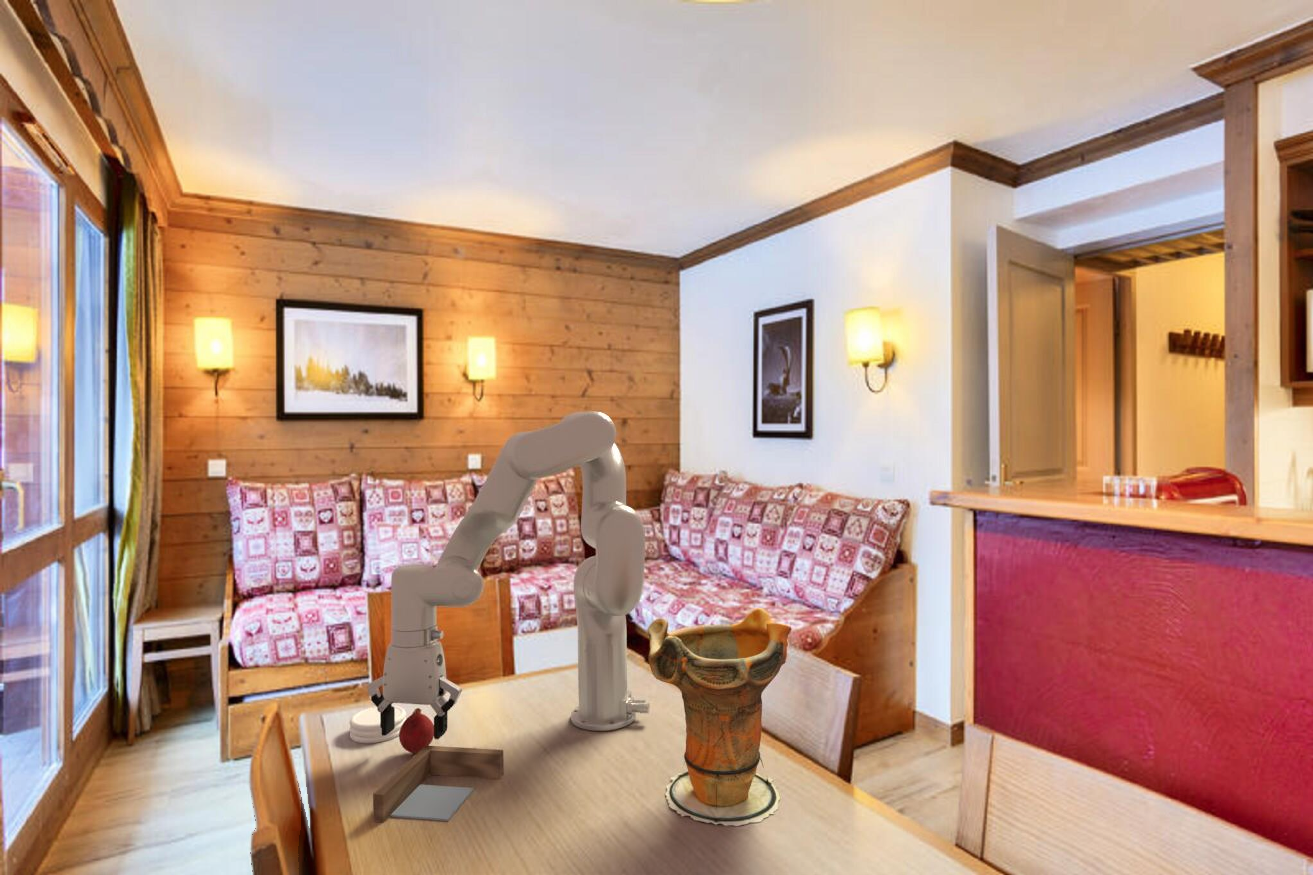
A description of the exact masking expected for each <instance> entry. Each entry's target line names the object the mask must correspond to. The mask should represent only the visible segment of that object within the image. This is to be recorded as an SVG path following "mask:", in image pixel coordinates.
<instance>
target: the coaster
mask: <svg viewBox="0 0 1313 875" xmlns="http://www.w3.org/2000/svg"><path fill="white" fill-rule="evenodd" d="M393 706H394V708H395V728H394V729H393V730H392V731H391V732H390V733H388V734H387V735H385V736H383V735H382V728H381V727H380V712H378V710H377V706H373V707H369V708H365V709H363V710H360V711H358V712H356V713H355V714H354V715H353V716H351V718H350V720H349V732H350V733H349V737H350V739H351V740H352V741H354V742H356V743H360V744H375V743H381V742H386V741H390V740H392V739H395V738H397V737H399V732H400V729H401V726H402V725H403V723H404V721H405V720H406V719H407V717H406V716H407V712H406V710H405V709H404V708H403V707H401V706H396V705H393Z"/></svg>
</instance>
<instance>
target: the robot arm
mask: <svg viewBox="0 0 1313 875" xmlns="http://www.w3.org/2000/svg"><path fill="white" fill-rule="evenodd" d="M616 438H617V429H616V426H615V423H614V422H613V420H612V419H611V418H610V416H608V415H607V414H605V413H603V412H601V411H597V410H596V411H594V410H589V411H576V412H573V413H570V414H567V415H565V416H564V417H563V418H561V420H560V421H559V422H558V423H556V424H553V425H550V426H547V427H546V426H545V427H543V428H539V429H536V430H532V431H531V430H530V431H529V430H528V431H520V432H519V431H518V432H517V433H516V432H515V434H512V435H511V436H510V437H509V438H508V440H507V441H506V442H505V443H504V445H503V447H502V448H501V450H500V453H499V454H498V456H497V458H496V460H495V462H494V464H493V466H492V467H491V469H490V471H489V473H488V474H487V477H486V479H485V481H484V483H483V485H482V486H481V488H480V490H479V491H478V494H477V495H476V497H475V499H474V501H473V502H472V504H471V505H470V507H469V508H468V509H467V512H466V513H465V514H464V516H463V518H462V519H461V521H460V522H459V523H458V525H457V526H456V527H455V530H454V531H453V533H452V535H451V536H450V538H449V540H448V542H447V544H446V545H445V547H444V550H443V551H442V554H441V555H440V557H439V559H438V561H437V563H436V565H435V567H434V566H432V565H429V564H427V563H426V564H421V563H414V564H413V563H412V564H405V565H400V566H398V567H396V568H395V569H394V570H393V571H392V573H391V578H390V579H391V580H390V586H391V587H390V589H391V590H390V592H391V593H390V594H391V595H390V600H391V601H390V603H391V604H390V605H391V606H390V607H391V608H390V609H391V610H390V611H391V613H390V617H391V618H390V622H391V624H390V632H391V635H390V636H391V638H390V640H391V641H390V643H389V644H388V645H387V648H386V653H385V659H384V665H383V673H382V674H383V675H382V676H381V677H378V678H376V679H375V680H373V681H371V682H369V683H368V684H366V686H365V688H366V690H367V692H368V694H369V696H370V701H371V702H372V704H374V705H375V707H377V710H378V712H380V727H381V728H382V735H383V736H385V735H387V734H388V733H390V732H391V731H392V730H393V729H394V728H395V708H394V706H395V705H393V704H404V705H405V704H407V705H421V706H422V705H425V706H428V705H429V706H430V707H431V708H432V710H433V711H434V712H435V715H434V716H433V725H434V737H433V739H434V740H439V739H440V738H442V737H443V736H444V735H445V734H446V732H447V731H448V711H450V710H451V709H452V708H453V707H454V705H455V704H457V702H458V700H459V698H460V696H461V695H462V692H463V688H462V687H461V686H460V685H457V684H456V683H454V682H452V681H450V680H449V679H448V678H447V670H446V659H445V653H444V649H443V646H442V645H443V644H442V642H441V641H438V640H442V639H443V638H444V635H445V634H444V630H439V629H438V625H437V612H438V610H437V607H443V608H444V607H446V608H447V607H448V608H464V607H469V606H470V605H472V604H473V605H474V603H475V602H477V601H478V600H479V599H480V597H481V596H482V594H483V591H484V587H485V585H484V580H483V576H482V575H481V573H480V572H479V570H478V569H480V568H479V567H480V565H481V564H482V562H483V560H484V558H485V557H486V554H487V553H488V551H489V549H490V548H491V546H492V545H493V543H494V542H495V541H496V540H497V539H498V538H499V537H500V536H501V535H502V534H503V533H505V532H506V531H508V530H510V528H511V527H512V526H514V525H515V523H517V521H518V519H519V518H520V516H521V515H522V511H523V510H524V508H525V506H526V504H527V502H528V500H529V498H530V496H531V494H532V493H533V490H534V487H535V486H536V484H537V483H538V481H539V479H543V478H547V477H551V476H554V475H556V474H560V473H562V472H565V471H567V470H570V469H573V468H575V467H578V466H579V469H580V471H581V476H582V479H581V480H582V499H581V500H582V501H581V502H582V504H581V516H580V517H581V519H580V532H581V536H582V539H583V540H584V541H585V543H586V544H588V546H590V547H592V548H593V549H595V555H593V556H590V557H588V558H586V559H585V560H583V561H582V562H581V563H580V564H579V565H578V567H577V569H576V571H575V573H574V576H573V577H574V578H573V593H574V594H573V595H574V602H575V609H576V622H577V623H576V624H577V674H578V676H577V679H578V706H576V707H575V708H574V709H573V710H572V711H571V713H570V719H571V720H570V721H571V723H572V724H573V725H575V727H578V728H580V729H583V730H588V731H595V732H596V731H597V732H604V731H605V732H606V731H611V730H612V731H613V730H618V729H621V728H624V727H625V728H626V726H628V725H630V724H632V723H633V722H634V721H635V720H636V713H639V714H649V713H650V708H651V707H650V702H646V699H645V698H642V699H641V698H639V699H638V698H637V699H636V698H634V697H632V691H631V690H628V657H627V656H628V655H627V652H628V650H627V649H628V648H627V647H628V646H627V641H628V640H627V637H628V636H627V632H628V631H627V619H626V618H627V617H626V615H628V614H629V613H631V612H633V611H634V610H635V609H636V607H637V606H638V605H639V603H640V600H641V598H642V595H643V593H644V592H643V591H644V581H645V565H646V564H645V560H646V558H645V557H646V530H645V526H644V523H643V519H642V517H641V516H640V514H638V512H637V511H636V510H635V509H633V508H632V507H630V506H628V505H627V476H626V475H627V474H626V473H627V472H626V465H625V461H624V459H623V456H622V454H621V451H620V449H619V448H618V446H617V444H616V443H615V442H616ZM380 687H382V692H380V689H379V688H380ZM447 692H448V693H449V698H448V700H447V699H446V698H445V696H446V694H447Z"/></svg>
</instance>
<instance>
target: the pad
mask: <svg viewBox="0 0 1313 875" xmlns="http://www.w3.org/2000/svg"><path fill="white" fill-rule="evenodd" d="M474 790H475V788H474V787H466V786H465V787H462V786H452V785H451V786H449V785H433V784H420V785H419V786H418V787H417V788H416V789H415V790H414V791H413V792H412V793H411V794H410V795H409V796H408V797H407V798H406V799H405V801H404V802H403V803H402V804H401V805H400V806H399V807H398V808H397V809H396V810H395V811H394V812H393V813H392V814H391V816H390V817H391V818H400V819H401V818H403V819H416V820H430V821H443V822H449V821H450V820H451V818H452V817H453V816H454V815H455V813H456V812H457V811H458V810H459V808H460V807H462V805H463V804H464V803H465V801H467V799H468V798H469V796H470V795H471V794H472V793H473V792H474Z"/></svg>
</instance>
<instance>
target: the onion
mask: <svg viewBox="0 0 1313 875" xmlns="http://www.w3.org/2000/svg"><path fill="white" fill-rule="evenodd" d="M398 737H399V738H398V739H399V743H400V745H401V746H402V748H403V749H404V750H405V751H406V752H409V753H411V754H413V755H414V756H415V755H416V754H417V753H418V752H419V751H420V750H421V749H422V748H424V747H425V746H430V744H431V743H432V742H433V740H434V722H433V721H432V720H431V719H430V718H429V717H428V716H427V715H426V714H423V713H422V709H421V708H420V707H417V708H415V709H414V710H413V712H412V713H411V715H409V716H408V717H406V720H405V721H404V723H403V725H402V726H401V729H400V732H399V736H398Z"/></svg>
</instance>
